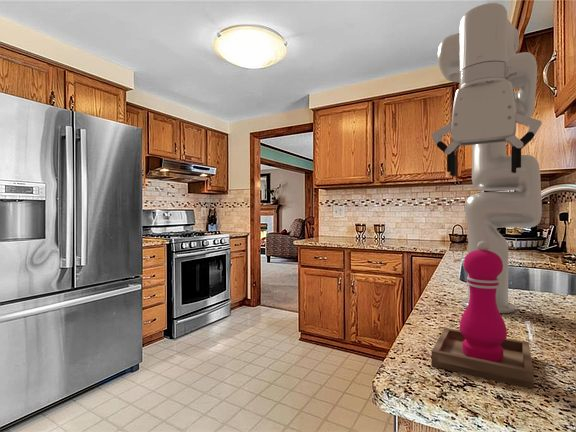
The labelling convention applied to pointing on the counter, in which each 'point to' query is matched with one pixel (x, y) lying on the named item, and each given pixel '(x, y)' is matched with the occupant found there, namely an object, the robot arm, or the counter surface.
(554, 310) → the counter surface
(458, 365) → the tray
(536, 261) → the counter surface
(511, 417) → the counter surface
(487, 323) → the pepper mill
